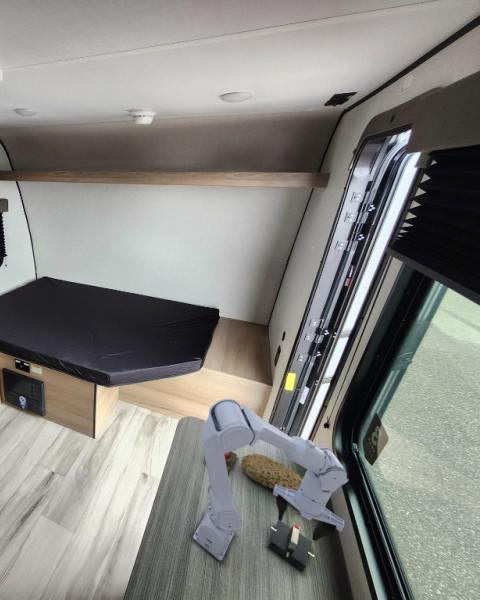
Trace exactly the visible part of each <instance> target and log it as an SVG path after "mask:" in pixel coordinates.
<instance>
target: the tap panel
mask: <svg viewBox="0 0 480 600" xmlns="http://www.w3.org/2000/svg"><path fill="white" fill-rule="evenodd" d="M291 528H292V526H289V525H288V524H286V523H285V522H283V521H282V520H281V521H279V520H278V519H277V522H276V525H275V527H272V526H270V529H272V531H273V533H272V536H271V539H270V541H269V544H268V549H269V550H270V551H271V552H273V553H274V554H275V555H277V556H278V557H280V558H281V559H282V560H284V561H285V562H287V563H288V564H289V565H291V566H292V567H293V568H295V569H296V570H298V571H299V572H300V573H304V571H305V569H306V567H307V564H308V560H309V555H310V556H311V557H312V558H315V555H314V554H312V553H311V547H312V543H313V540H310V539H309V538H308V537H306V536H304V535H302V534H301V533H300V532H299V536H298V543H297V546H296V548H295V550H294V552H291V551H289V550H288V549H287V546H288V540H289V535H290V530H291Z"/></svg>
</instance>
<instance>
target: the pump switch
mask: <svg viewBox="0 0 480 600" xmlns="http://www.w3.org/2000/svg"><path fill="white" fill-rule="evenodd" d="M237 457H238V454H237V453H235V452H234V451H231V452H230V453H229V457H228V458H226V459H225V461H226V467H227V472H228V473H229V472H230V469H231V468H232V467H233V465H234V463H235V461H236V459H237Z"/></svg>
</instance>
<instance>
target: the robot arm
mask: <svg viewBox="0 0 480 600" xmlns="http://www.w3.org/2000/svg"><path fill="white" fill-rule="evenodd" d="M259 440H260V441H262V442H265V443H267V444H269V445H271V446H273V447H276V448H277V449H279V450H282V451H283V453H284V455H285V457H286V458H287V459H288V460H289V461H292V462H293V463H295V464H297V465H299V466H301V467H302V468H304V469H306V471H305V474H304V476H303V477H302V478H303V480H302V482H301V484H300V486H299V489H298V491H294V490H291V489H287V488H284V487H281V486H279V485H277V484H276V485H275V488H274V489H273V491H272V495H274V496H275V497H276V500H275V504H276V506H277V510H278V517H277V521H278V520H279V521H281V522H282V521H283V518H284V515H285V513H286V511H287V509H288V506H289V505H288V504H290V505H292V507H294V508H295V509H296V510H297V511H299V512H300V516H301V517H302V518H304V519H306V520H308V521H312V519H314V520H316V521H318V523H317V525H316V526H315V528H314V530H313V531H312V537H311V538H312V540H311V541H313V542H317V541H318V540H320V539H322V538H325V537H333V536H334V535H336V530H337V531H338V532H342V531H343V529H344V528H345V520H344V519H342V518H341V517H339V516H337V515H336V514H335V513H333V512H332V511H331V510H330V509H329V508H327V507H326V506H327V503H328V502H329V500H330V498H331V496H332V494H333V492H336V491H337V490H338V489H339V488H340V487H341V486H344V485H345V484H347V483H348V482H349V478H348V472H347V470H346V468H344V466H343V465H342V463H341V461H340V460H339V459H338V458H337V456H336V455H335V453H333V451H332V450H331V449H330V448H329V447H327V446H317V445H315V444H314V443H315V442H313V440H310V439H307V440H306V439H304V438H302V437H301V436H297V435H293V436H290V435H288V434H287V433H285V432H283V431H282V430H280V429H279V428H277V427H275V426H274V425H272V424H271V423H269V422H268V421H266V420H265V419H264V418H262V417H260V416H259V415H258V414H257V413H255V412H254V411H252V410H251V408H249V407H248V406H246V405H244V404H240V403H239V402H238V401H237V400H235V399H231V398H222V399H219V400H218V401H217V402H214V404H212V405H211V406H209V409H208V417H207V419H206V421H205V424H204V425H203V427H202V429H201V431H200V442H201V446H202V450H203V456H204V461H205V464H206V469H207V474H208V481H209V485H208V486H207V493H208V495H209V500H208V502H207V505H206V508H205V512H204V515H203V518H202V520H201V522H200V523H199V525H198V527H197V529H196V530H195V532H194V533H193V535H192V539H193V541H195V542H196V543H198V545H200V546H201V547H203V548H204V549H205V550H206V551H207V552H208V553H210V554H211V555H212V556H214V557H215V558H216V559H217V560H218V561H220V562H221V561H223V559H224V558H225V554H226V553H227V550H228V548H229V545H230V543H231V542H232V539H233V537H234V535H235V532H233V531H235V530H238V529H239V528H240V527H241V526H242V523H243V521H242V518H241V516H240V513H239V510H238V507H237V503H236V500H235V498H234V494H233V490H232V487H231V484H230V479H229V474H228V473H229V471H228V472H227V467H226V461H225V456H224V454H225V453H228V452H231V451H232V452H234V451H236V450H239V449H242V448H244V447H247V446H250V447H253V446H255V445H256V443H257V442H258V441H259Z"/></svg>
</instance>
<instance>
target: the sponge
mask: <svg viewBox="0 0 480 600" xmlns="http://www.w3.org/2000/svg"><path fill="white" fill-rule="evenodd" d="M240 468H241V470H242V471H243V472H244V473H245V474H246V475H247V477H249V478H250V479H251V480H253V481H255V482H257V483H258V484H260V485H262V486H265V487H267V488H270V489H272V490H274V488H275V485H276V484H277V485H279V486H281V487H284V488H287V489H291V490H294V491H298V489H299V486H300V484H301V482H302V480H303V478H304V477H302V476H301V475H299V474H298V473H297V472H295V471H294V470H292V469H291V468H290V467H288V466H286V465H284V464H282V463H281V462H278V461H276V460H274V459H273V458H270V457H269V456H266V455H263V454H258V453H253V454H250V453H249V454H247V455H244V456H243V457H242V459H241V464H240Z"/></svg>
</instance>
